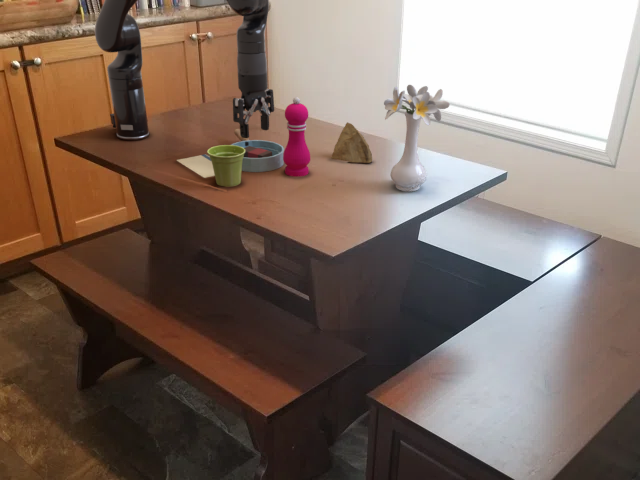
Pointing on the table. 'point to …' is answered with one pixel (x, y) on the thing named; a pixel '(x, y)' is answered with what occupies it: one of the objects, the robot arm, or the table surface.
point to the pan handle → (237, 133)
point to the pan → (262, 163)
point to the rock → (352, 146)
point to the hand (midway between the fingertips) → (255, 133)
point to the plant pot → (227, 164)
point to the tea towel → (199, 165)
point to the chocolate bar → (256, 152)
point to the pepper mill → (296, 140)
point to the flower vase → (413, 132)
